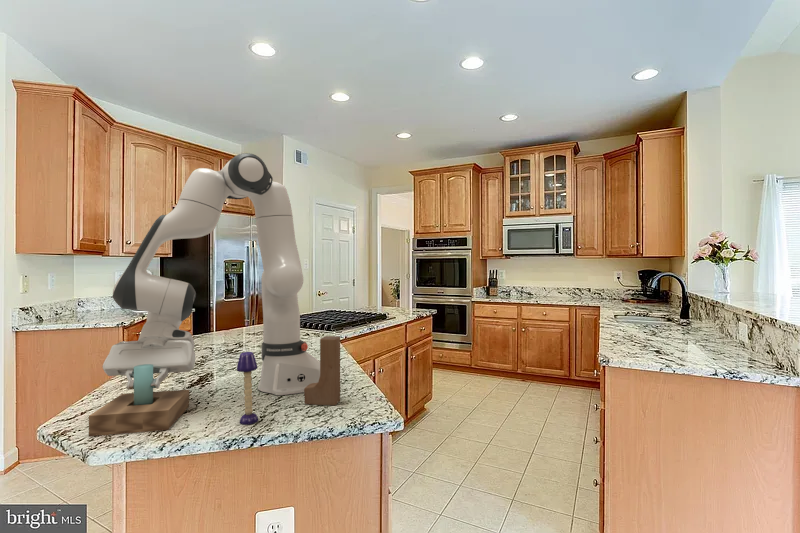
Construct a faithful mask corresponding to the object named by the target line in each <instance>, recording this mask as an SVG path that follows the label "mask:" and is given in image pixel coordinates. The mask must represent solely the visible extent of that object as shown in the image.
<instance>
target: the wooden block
mask: <svg viewBox="0 0 800 533" xmlns="http://www.w3.org/2000/svg"><path fill="white" fill-rule="evenodd" d="M319 353H320V355H319V361H320V378H319V382H318V383H311V384H309V385H308V386H307V387H305V388H304V392H303V395H304V396H303V397H304V399H303V401H304V403H303V404H304V405H313V406H315V405H316V406H337V405H338V403H339V402H340V401H341V337H340V336H339V335H337V336H335V335H331V336H330V335H326V336H323V337H321V338H320V339H319Z"/></svg>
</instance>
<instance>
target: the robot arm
mask: <svg viewBox="0 0 800 533" xmlns="http://www.w3.org/2000/svg"><path fill="white" fill-rule="evenodd" d="M273 180H274V179H273V176H272V174H271V173H270V171H269V169H268V167H267V165H266V164H265V162H264V161H263V159H262V158H261V157H259V156H258V155H256V154H253V153H250V152H244V153H239V154H237V155H235V156H234V157H232V158H231V159H230V160H228V161H227V162H226V164H225V165H224V166H223V167H222V168H221V169H220V170H213V169H211V168H206V167H199V168H196V169H195V170H193V171H192V172H191V173H190V175H189V176H188V178H187V180H186V182H185V184H184V185H183V187H182V191H181V193H180V195H179V198H178V201H177V204H176V205H175V206H174V208H173V209H172V210H171V211H170V212H168V213H167V214H161V215H160V216H158V217H157V218H156V220H155V221H154V222H153V223H152V225H151V227H150V228H149V230H148V231H147V233H146V235H145V236H144V238H143V240H142V242H141V243H140V245H139V247H138V248H137V251H135V254H134V255H133V257H132V259H131V260H130V262H129V264H128V266H127V267H126V269H125V270H124V272H123V273H122V274H121V275H120V276H119V277H118V279H117V280H116V282H115V284H114V286H113V289H112V299H113V301H114V302H115V303H116V305H118V306H119V308H121V309H122V310H131V311H133V310H134V311H142V312H147V315H146V321H145V323H144V324H143V326H142V328H141V331H140V334H139V336H138V340H131V341H130V340H129V341H124V340H123V341H119V342H118V343H115V344H113V345H112V346H111V347H110V349H109V353H108V354H107V356H106V358H105V360H104V362H103V364H102V367H101V368H102V370H103V371H104V373H105V375H107V376H108V377H115V376H116V377H117V376H125V377H126V379H127V382H126V389H127V390H132V391H133V390H134V367H135V366H138V365H144V364H152V365H153V375H154V374H156V375H157V374H158V376H156V378H153V380H152V383H151V387H152V388H153V389H159V388H160V386H161V383H162V382H163V381H164V380H165V379H166V378H167V377H168V376H169V374H171V373H172V374H173V373H189V372H192V370H194V368H195V364H196V352H195V346H196V345H195V341H194V338H193V335H192V333H191V332H190V331H187V330H183V329H180V326H181V325H182V323H183V321H185V320H186V319H189V317H190V316H191V315H192V312H193V304H194V302H195V300H196V297H197V293H196V290H195V289H194V287H193V285H192V284H191V283H189V282H186V281H182V280H178V279H174V278H168V277H164V276H160V275H156V274H151V273H149V272H148V271H147V270H148V267H149V266H150V263H152V261H153V259H154V257H155V255H156V253H157V252H158V249H159V248H160V247H161V246H162V245H163V244H165V243H167V242H169V241H172V240H181V239H182V240H183V239H197V238H202V237H204V236H207V235H209V234H211V233H212V232H213V231H215V229H216V226H217V224H219V219H220V217H221V213H222V212H223V211H222V210H223V206H224V204H225V202H226V200H228V199H229V200H244V199H246V198H249V200H250V201H251V202H252V205H253V208H254V214H255V215H254V216H255V217H254V218H255V222H256V224H255V225H256V232H257V233H256V234H257V241H258V246H259V247H258V248H259V252H260V257H261V263H262V268H263V271H262V274H261V298H262V299H261V300H262V318H263V319H262V320H263V321H262V324H263V326H262V328H263V330H262V332H263V333H262V334H263V335H262V336H263V338H262V342H261V345H260V346H261V352H260V353H261V360H262V362H261V363H262V364H261V365H262V366H261V373H260V378H259V383H258V385H257V390H258V391H261V392H263V393H269V394H273V395H275V396H284V395H285V396H286V395H292V394H293V395H294V394H301V393H304V388H305V387H307V386H308V385H309V384H311V383H318V382H319V378H320V359H317V358H316V357H315V356H313V355H311V354H310V353H309V352H307V350H308V349H309V345H308V343H307V341H304V340H301V315H300V308H299V300H298V298H299V297H298V293H299V292H300V291H301V289H302V288H303V284H304V274H303V269H302V264H301V259H300V254H299V251H298V245H297V242H296V241H297V240H296V235H295V234H296V233H295V227H294V217H293V216H294V215H293V209H292V204H291V200H290V197H289V194H288V191H287V189H286V187H285V185H283V184H282V183H280V182H277V181H273Z"/></svg>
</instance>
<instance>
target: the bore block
mask: <svg viewBox="0 0 800 533" xmlns="http://www.w3.org/2000/svg"><path fill="white" fill-rule="evenodd" d="M189 407H190V389H176V390H175V389H173V390H161V391H160V390H158V391H153V404H148V405H134V392H130V393H129V392H128V393H127V392H126V393H121V394H120V395H118V396H117V397H115V398H114V399H112V400H111V401H109V402H108V403H106V404H104V405H103V406H101V407H100V408H99V409H97V410H95V411H94V412H92V413H91V414H89V415H88V437H94V436H95V437H96V436H98V435H99V436H109V434H111V435H123V434H135V433H143V432H144V433H145V432H147V433H148V432H159V431H160V432H161V431H169V430H170V429H171V428H172V426H173V425H174V424H175V423H176V422H177V421H178V420H179V418H180V417H182V415H183V414H184V413H185V412H186V411H187V409H189ZM99 436H98V437H99Z"/></svg>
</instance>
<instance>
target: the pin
mask: <svg viewBox="0 0 800 533" xmlns="http://www.w3.org/2000/svg"><path fill="white" fill-rule="evenodd" d="M153 379H154V374H153V365H152V364H144V365H138V366H135V367H134V378H133V380H134V389H133V393H134V405H148V404H153V392H154V388H152V387H151V383H152V380H153Z"/></svg>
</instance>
